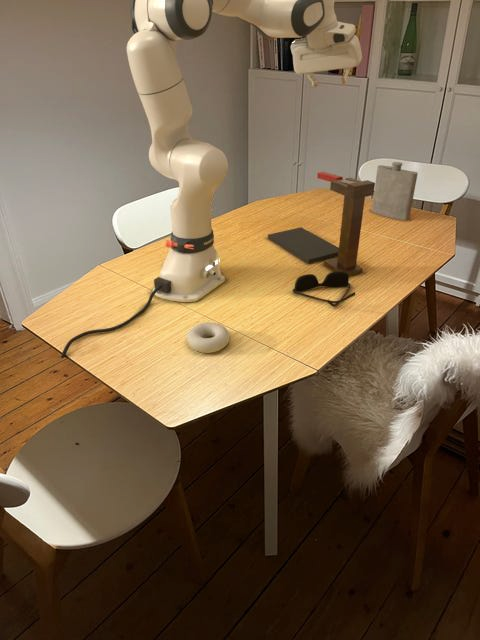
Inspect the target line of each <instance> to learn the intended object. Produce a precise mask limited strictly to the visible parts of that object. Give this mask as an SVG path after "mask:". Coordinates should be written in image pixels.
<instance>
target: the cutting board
mask: <svg viewBox="0 0 480 640" xmlns="http://www.w3.org/2000/svg"><path fill="white" fill-rule="evenodd" d="M267 239H268V240H269V241H271V242H272V243H274V244H276V245H277V246H278V247H281V248H282V249H284V250H285V251H287V252H288V253H290V254H292V255H293V256H294V257H296V258H297V259H299V260H301V261H302V262H304V263H306V264H307V265H309V264H314V263H318V262H321V261H326V260H329V259H333V258H337V257H338V251H339V246H337V245H335V244H333V243H331V242H330V241H327V240H326V239H324V238H322V237H320V236H318V235H317V234H314V233H313V232H311V231H309V230H307V229H305V228H303V227H301V226H300V227H295V228H292V229H287V230H281V231H277V232H273V233H269V234H267Z"/></svg>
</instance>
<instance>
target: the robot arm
mask: <svg viewBox="0 0 480 640" xmlns="http://www.w3.org/2000/svg"><path fill="white" fill-rule="evenodd" d="M129 13H130V14H129V15H130V20H131V30H132V32H133V34H132V36H131V37H130V38H129V40H128V42H127V44H126V55H127V56H126V57H127V60H128V65H129V69H130V73H131V77H132V81H133V83H134V86H135V89H136V91H137V94H138V97H139V99H140V102H141V104H142V108H143V110H144V112H145V115H146V118H147V121H148V124H149V129H150V133H151V141H152V142H151V144H150V146H149V150H148V159H149V160H148V161H149V163H150V165H151V167H152V168H153V169H154V170H156V172H158V173H159V174H161V175H162V176H164V177H166V178H168V179H171V180H174V181H177V182H178V194H177V198H175V199H174V200H173V201H172V202H171V204H170V208H169V209H170V219H171V228H172V229H171V232H170V233H171V234H170V238H169V239H167V240H166V241H165V247H166V248H169V251H168V253H167V255H166V257H165V260H164V262H163V264H162V266H161V269H160V270H159V271H160V272H159V276H158V277H156V278H154V279H153V283H154V284H153V285H154V287H153V289H152V292H151V293H150V295H149V297H148V300H147V301H146V304H145V305H144V306H143V308H141V309H140V310H139V311H138V312H137V313H135V314H134V315H132V316H131V317H130V318H129V319H127V320H125V321H124V322H122V323H120V324H117V325H115V326H112V327H107V328H98V329H92V330H87V331H83V332H82V333H80V334H77V335H75V336H73V337H72V338H71V339H69V340H68V342H67V343H66V344H65V346H64V348H63V350H62V352H61V354H60V359H64V358H65V357H66V356H67V352H68V350H69V348H70V347H71V345H72V344H73V343H74V342H75V341H78V340H80V339H82V338H84V337H85V336H89V335H93V334H94V335H95V334H102V333H109V332H113V331H117V330H119V329H121V328H123V327H126V326H127V325H129V324H130V323H132V322H133V321H135V320H136V319H137V318H138V317H139V316H141V315H142V314H143V313H145V312H146V310H147V309H148V308H149V306H150V304H151V303H152V301H153V298H154V296H155V297H158V298H160V299H163V300H166V301H171V302H178V303H195V302H197V301H199V300H201V299H202V298H204V297H205V296H206V295H207V294H209V293H210V292H211V291H213V290H215V289H216V288H218V287H219V286H221V284H223V283H224V282H225V281H226V278H225V276H224V275H223V274H222V272H221V271H222V270H221V264H220V262H221V261H220V255H219V253H218V251H217V249H216V248H215V245H214V244H215V234H214V230H213V227H212V226H213V225H212V202H213V198H214V195H215V192H216V190H217V188H218V187H219V186H221V184H222V183H223V182H224V181H225V179H226V178H227V175H228V172H229V162H228V159H227V156H226V154H225V152H223V151H222V150H221V149H220V148H218V147H216V146H214V145H213V144H211V143H208V142H205V141H201V140H196V139H193V137H192V136H191V134H190V132H189V121H190V119H191V118H192V116H193V105H192V102H191V98H190V95H189V91H188V89H187V86H186V83H185V78H184V76H183V73H182V70H181V67H180V65H179V62H178V57H177V42H178V41H180V40H181V41H182V40H185V41H190V40H194V39H197V38H199V37H201V36H202V35H203V34H205V33H206V32H207V30H208V28H209V26H210V24H211V21H212V16H213V13H215V14H217V15H220V16H225V17H230V18H231V17H233V18H237V19H239V20H241V21H243V22H245V23H248V24H249V25H251V26H252V27H253V28H254V29H255V30H256V31H257V32H258V33H259V34H260V36H262V37H263V38H265V39H268V40H272V39H279V38H281V39H282V38H283V39H286V38H287V39H289V38H290V39H292V38H294V40H293V41H292V42H291V44H290V51H291V55H292V64H293V71H294V72H295V73H296V75H302V74H304V75H305V74H306V78H308V80H309V81H310V82H311V86H312V87H313V88H316V87H318V86H319V85H320V81H319V78H316V77H315V76H314V73H318V72H327V71H333V70H335V71H336V70H343V72H344V75H342V76H341V78H340V79H341V84H342V85H343V84H348V82H349V74H350V72H351V69H352V68H356V67H358V66H359V65H360V63H361V62H362V61H363V60H362V59H363V53H362V47H361V42H360V39H359V37H358V36H357V35H356V34H355V33H356V31H357V30H356V29H357V28H356V25H355V24H353V23H347V22H341V21H338V19H337V18H338V17H337V14H336V12H335V0H130V2H129ZM74 444H75V446H76V445H79V446H80V443H79V442H75V443H74Z"/></svg>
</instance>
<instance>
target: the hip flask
mask: <svg viewBox="0 0 480 640" xmlns="http://www.w3.org/2000/svg"><path fill="white" fill-rule="evenodd" d="M402 166H403V162H400V161H392V163H391V166H390V165H382V164H381V165H377V169H376V177H375V182H374V183H375V187H374V194H373V197H372V204H371V212H372V213H374V214H377V215H380V216H382V217H387V218H390V219H394V220H398V221H405V222H406V221H409V220H410V217H411V212H412V211H411V210H412V205H413V202H414V195H415V191H416V184H417V178H418V174H419V173H418V171H415V170H407V169H402Z"/></svg>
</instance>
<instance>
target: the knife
mask: <svg viewBox="0 0 480 640" xmlns="http://www.w3.org/2000/svg"><path fill="white" fill-rule="evenodd" d="M317 179H318V180H323V181H326V182H330V183H331V181H334V180H337V181H340V182H342V183H345V184H350V183H355V182H353V181H349V180H345V179H346V178H344V176H341V175H337V174H333V173H330V172H325V171H320V172H317Z"/></svg>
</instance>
